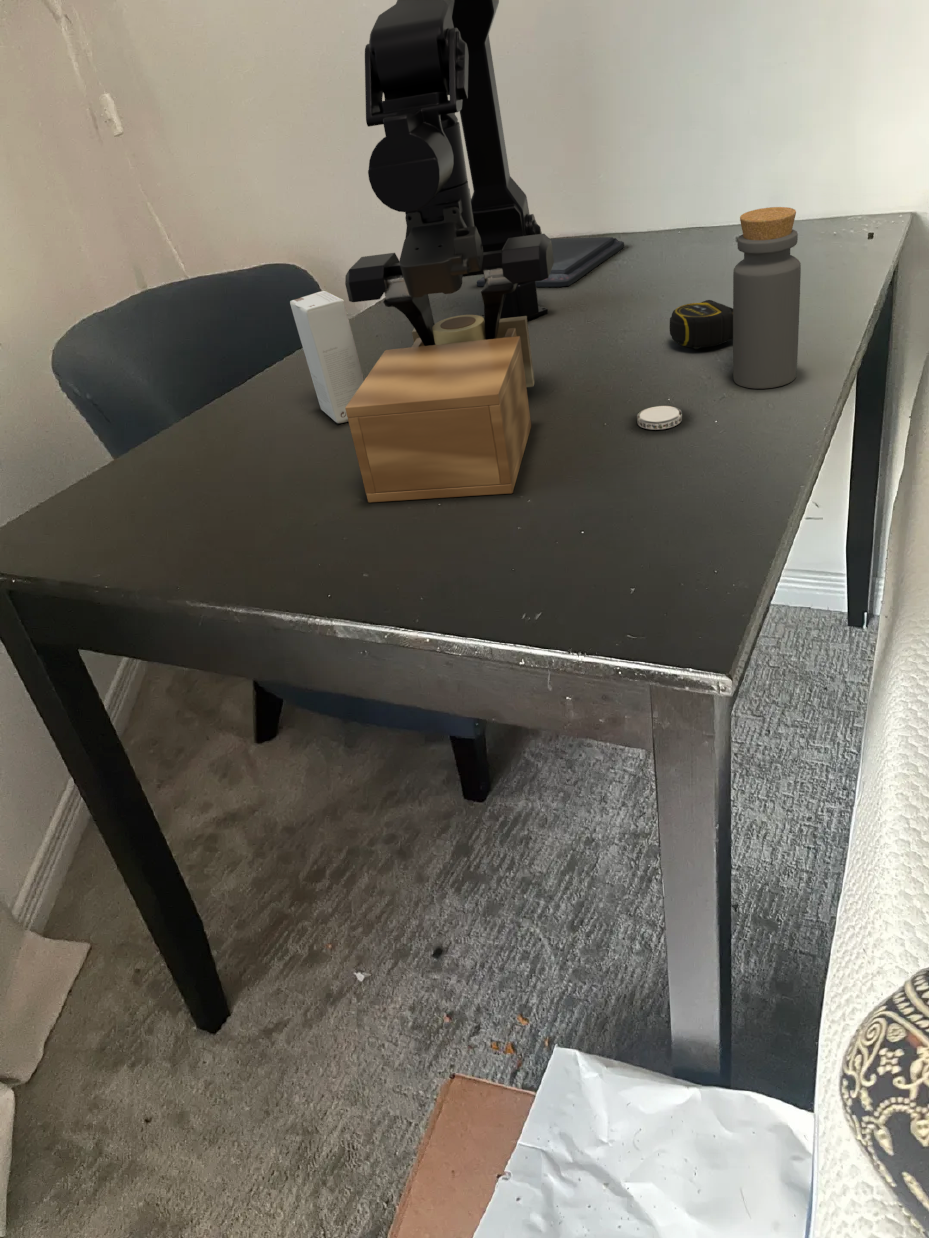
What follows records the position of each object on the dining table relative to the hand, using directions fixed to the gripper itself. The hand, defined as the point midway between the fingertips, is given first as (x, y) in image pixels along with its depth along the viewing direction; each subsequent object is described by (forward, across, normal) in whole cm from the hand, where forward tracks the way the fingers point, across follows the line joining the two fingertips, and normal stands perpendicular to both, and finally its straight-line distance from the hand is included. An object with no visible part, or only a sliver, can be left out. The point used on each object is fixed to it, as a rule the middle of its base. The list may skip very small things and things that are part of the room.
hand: (463, 359), depth 91 cm
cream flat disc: (+6, +18, -5) cm, 20 cm away
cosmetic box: (+6, -15, +4) cm, 16 cm away
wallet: (+6, +3, +54) cm, 55 cm away
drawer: (+5, 0, +1) cm, 5 cm away
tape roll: (+1, 0, 0) cm, 1 cm away
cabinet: (+6, 0, -11) cm, 12 cm away
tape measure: (+6, +23, +15) cm, 29 cm away
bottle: (+6, +28, +3) cm, 29 cm away
